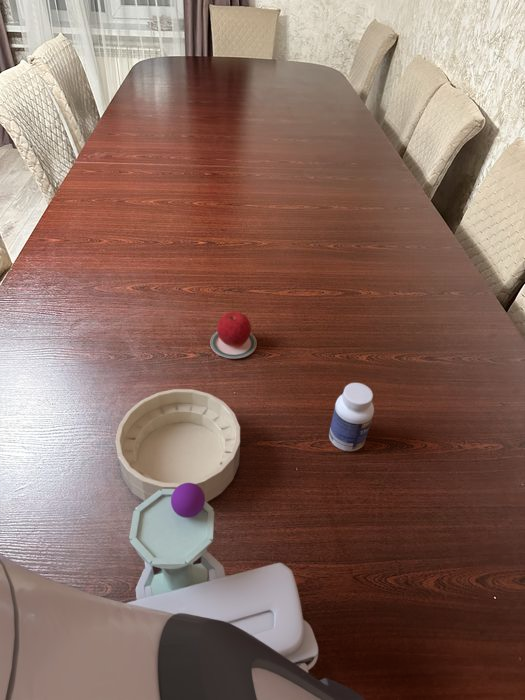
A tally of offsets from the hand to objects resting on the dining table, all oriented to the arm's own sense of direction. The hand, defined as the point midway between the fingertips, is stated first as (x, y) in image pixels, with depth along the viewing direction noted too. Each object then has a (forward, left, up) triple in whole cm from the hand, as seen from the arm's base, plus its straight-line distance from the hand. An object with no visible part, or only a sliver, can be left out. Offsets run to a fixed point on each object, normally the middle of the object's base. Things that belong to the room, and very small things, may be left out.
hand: (173, 547), depth 50 cm
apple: (+5, +43, -12) cm, 45 cm away
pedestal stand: (0, -1, -5) cm, 5 cm away
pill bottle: (+22, +23, -12) cm, 35 cm away
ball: (+2, +1, +7) cm, 7 cm away
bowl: (-2, +19, -12) cm, 23 cm away
